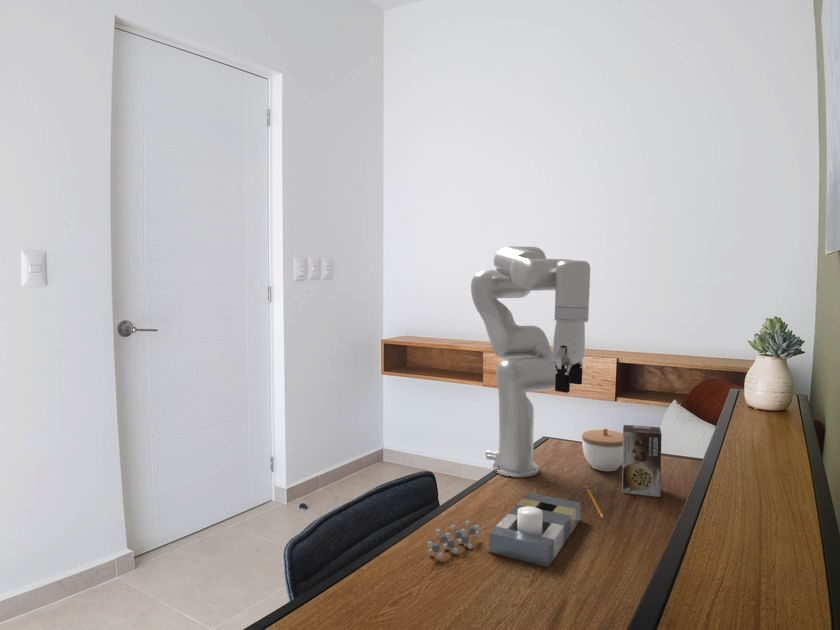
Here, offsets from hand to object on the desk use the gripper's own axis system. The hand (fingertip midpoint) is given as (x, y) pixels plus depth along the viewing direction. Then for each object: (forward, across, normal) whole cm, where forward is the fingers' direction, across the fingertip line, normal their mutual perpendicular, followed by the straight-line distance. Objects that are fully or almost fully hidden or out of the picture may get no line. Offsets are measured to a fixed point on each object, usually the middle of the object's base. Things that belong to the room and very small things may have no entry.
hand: (568, 387), depth 136 cm
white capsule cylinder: (+28, +23, 0) cm, 36 cm away
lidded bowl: (+30, -33, +1) cm, 44 cm away
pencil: (+29, -6, +5) cm, 30 cm away
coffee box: (+29, -20, +14) cm, 38 cm away
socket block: (+28, +18, 0) cm, 34 cm away
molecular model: (+29, +33, -12) cm, 45 cm away
